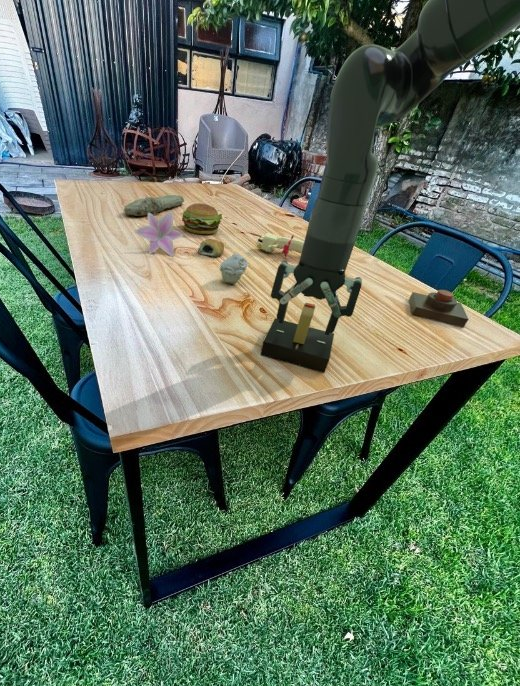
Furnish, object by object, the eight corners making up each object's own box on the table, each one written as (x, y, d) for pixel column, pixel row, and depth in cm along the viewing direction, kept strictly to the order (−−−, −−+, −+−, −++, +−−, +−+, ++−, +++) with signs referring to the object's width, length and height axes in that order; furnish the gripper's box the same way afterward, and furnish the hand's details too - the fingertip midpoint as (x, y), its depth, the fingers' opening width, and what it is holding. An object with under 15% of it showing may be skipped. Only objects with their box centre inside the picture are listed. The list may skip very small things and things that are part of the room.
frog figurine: (248, 286, 88) (253, 258, 83) (224, 288, 85) (228, 260, 80) (237, 276, 92) (241, 249, 87) (213, 279, 89) (216, 251, 84)
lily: (130, 251, 100) (131, 225, 91) (150, 226, 104) (153, 199, 96) (167, 272, 100) (171, 248, 92) (185, 247, 105) (191, 221, 96)
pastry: (209, 245, 108) (210, 232, 106) (228, 250, 107) (230, 237, 104) (196, 253, 101) (197, 240, 99) (217, 259, 100) (219, 245, 97)
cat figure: (332, 263, 112) (258, 241, 114) (343, 235, 106) (265, 213, 108) (330, 274, 104) (252, 250, 107) (342, 244, 98) (259, 220, 101)
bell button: (448, 298, 86) (452, 291, 85) (451, 304, 84) (455, 297, 83) (433, 295, 87) (437, 288, 86) (435, 300, 84) (439, 293, 83)
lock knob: (303, 344, 63) (312, 315, 59) (292, 341, 63) (301, 313, 59) (307, 332, 66) (315, 304, 63) (297, 329, 67) (305, 301, 63)
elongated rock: (190, 208, 146) (169, 205, 149) (190, 194, 143) (169, 190, 146) (140, 218, 120) (117, 214, 123) (139, 201, 117) (115, 197, 120)
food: (175, 232, 115) (175, 205, 110) (187, 222, 125) (188, 197, 120) (215, 239, 114) (217, 212, 108) (224, 228, 124) (226, 204, 119)
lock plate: (329, 346, 69) (334, 332, 67) (324, 373, 62) (329, 358, 60) (271, 331, 71) (275, 317, 69) (260, 355, 64) (263, 340, 62)
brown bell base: (456, 310, 90) (464, 296, 88) (463, 327, 83) (473, 312, 80) (408, 299, 93) (415, 285, 90) (411, 315, 85) (419, 299, 83)
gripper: (281, 229, 51) (261, 326, 62) (379, 249, 49) (341, 347, 59) (290, 219, 57) (271, 309, 68) (379, 236, 54) (344, 328, 65)
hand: (304, 327), depth 63 cm, fingers open, 8 cm apart
